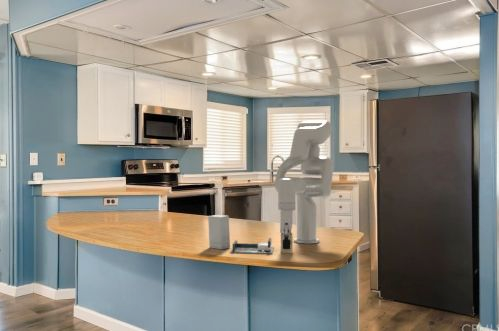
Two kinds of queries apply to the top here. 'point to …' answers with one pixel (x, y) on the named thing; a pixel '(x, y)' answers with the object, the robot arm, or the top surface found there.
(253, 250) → the gauge base
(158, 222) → the top surface
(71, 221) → the top surface
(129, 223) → the top surface
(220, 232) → the skincare box
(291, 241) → the beech block
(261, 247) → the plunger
